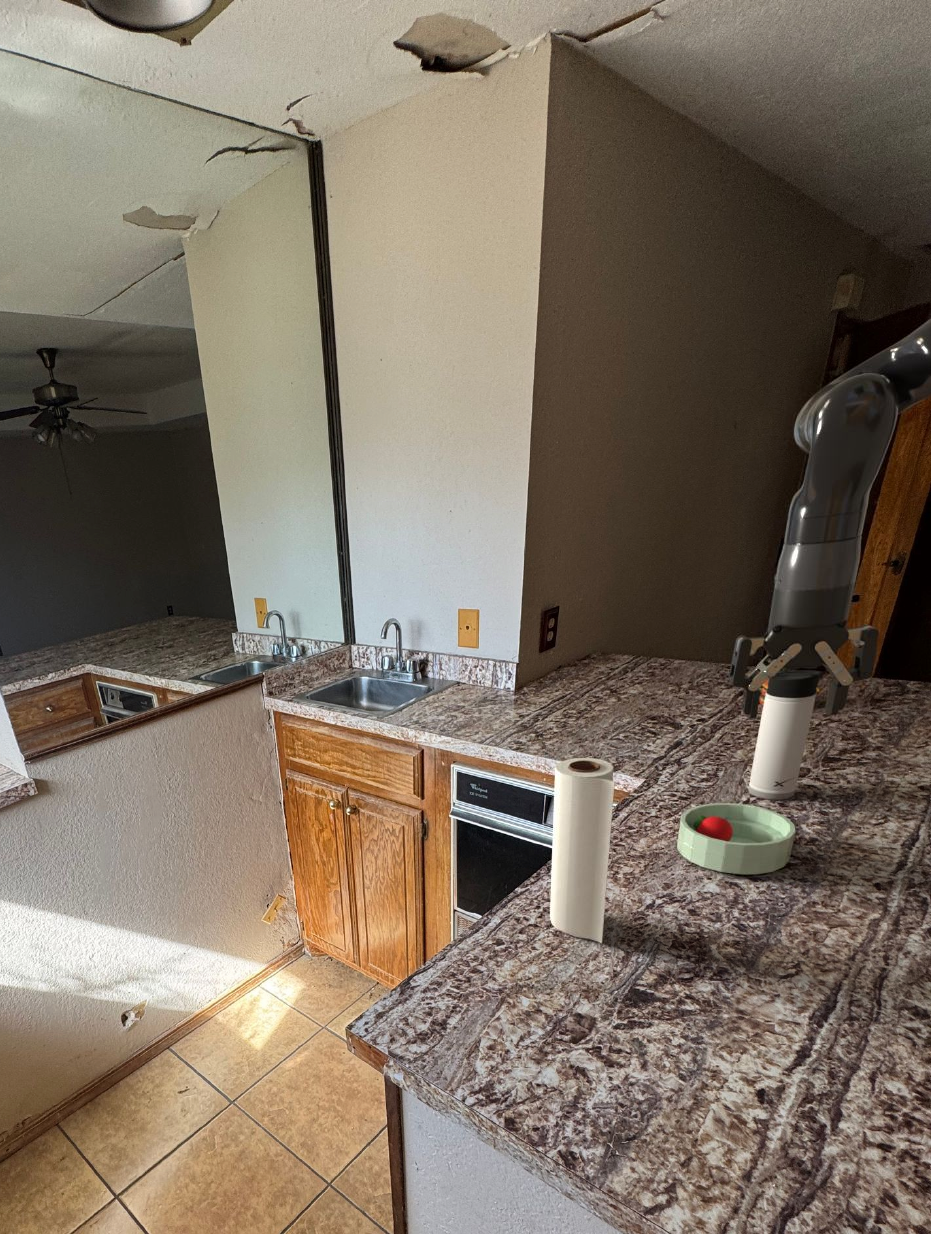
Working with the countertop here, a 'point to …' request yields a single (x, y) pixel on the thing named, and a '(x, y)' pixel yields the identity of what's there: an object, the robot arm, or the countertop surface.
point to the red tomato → (714, 828)
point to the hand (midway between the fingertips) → (790, 715)
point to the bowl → (738, 839)
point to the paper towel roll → (581, 846)
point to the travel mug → (783, 733)
